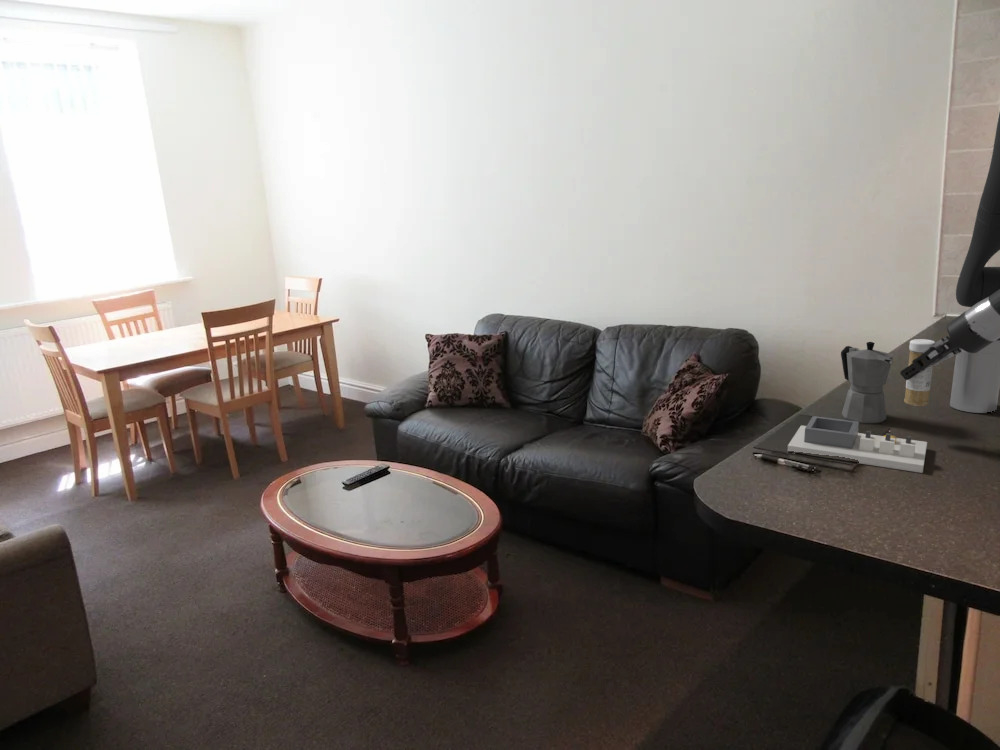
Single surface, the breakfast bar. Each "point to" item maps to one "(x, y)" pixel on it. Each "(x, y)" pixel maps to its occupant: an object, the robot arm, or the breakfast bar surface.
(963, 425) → the breakfast bar surface
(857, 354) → the coffeepot
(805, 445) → the breaker panel
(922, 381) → the sprinkles bottle
